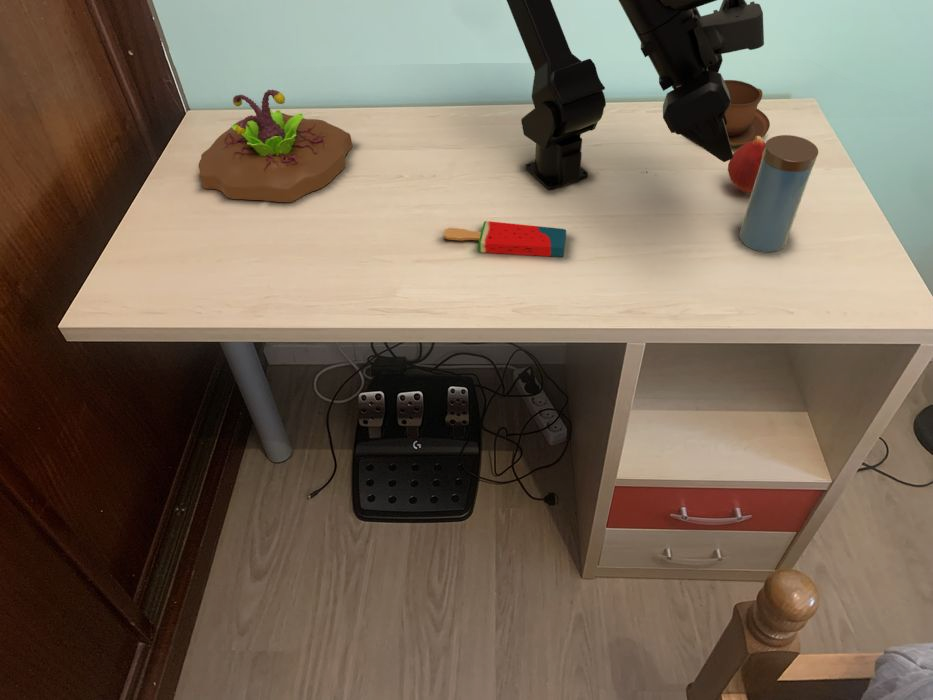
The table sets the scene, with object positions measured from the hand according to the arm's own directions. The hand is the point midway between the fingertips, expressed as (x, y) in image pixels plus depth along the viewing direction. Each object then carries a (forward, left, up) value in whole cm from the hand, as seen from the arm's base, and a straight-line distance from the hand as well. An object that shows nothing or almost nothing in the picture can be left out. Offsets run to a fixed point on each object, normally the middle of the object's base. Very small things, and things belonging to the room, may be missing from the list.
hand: (725, 142), depth 82 cm
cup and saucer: (-17, +19, -13) cm, 29 cm away
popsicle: (-11, -22, -13) cm, 28 cm away
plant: (-42, -41, -13) cm, 61 cm away
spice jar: (+4, +6, -13) cm, 15 cm away
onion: (-4, +11, -13) cm, 17 cm away
